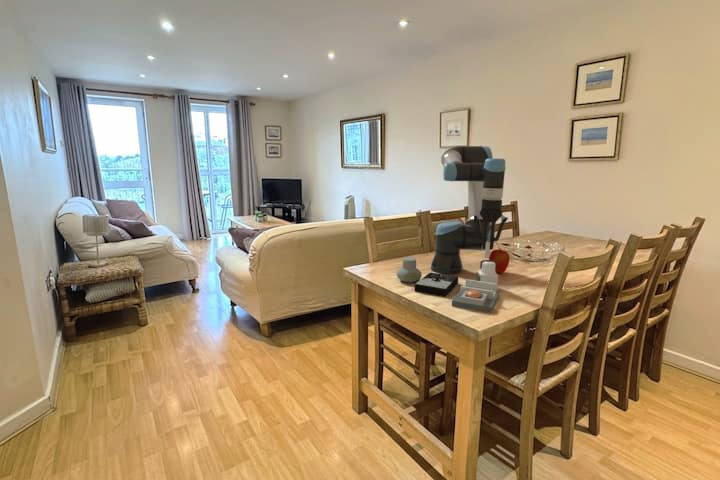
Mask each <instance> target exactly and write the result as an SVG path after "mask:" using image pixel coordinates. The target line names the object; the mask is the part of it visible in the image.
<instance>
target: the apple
mask: <svg viewBox="0 0 720 480" xmlns="http://www.w3.org/2000/svg"><path fill="white" fill-rule="evenodd" d="M488 260H491V261H494V262H495V263H496V270H495V272H496V274H503V273H504V272H506V271H507V268H508V266H509V263H510V260H511V257H510V253H508V252H507V250H503V249H500V248H499V249H492V250H491V251H490V257H489V258H488Z"/></svg>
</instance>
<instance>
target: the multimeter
mask: <svg viewBox="0 0 720 480" xmlns="http://www.w3.org/2000/svg"><path fill="white" fill-rule="evenodd" d="M458 285H459V277H458V276H456V275H452V274H444V273H438V272H428V273H427V274H426V275H425V276H423V277H422V278H420V279H419V280H418V281H416V282H415V284H414V293H420V294H427V295H432V296H438V297H442V298H447V296H448V295H449V294H450V293H451V292H452V291H453V290H454V289H455V288H456V287H457V286H458Z"/></svg>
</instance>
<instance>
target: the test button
mask: <svg viewBox="0 0 720 480" xmlns="http://www.w3.org/2000/svg"><path fill="white" fill-rule="evenodd" d="M467 297H471V298H477V299H481V292H479V291H475V290H469V291H467Z"/></svg>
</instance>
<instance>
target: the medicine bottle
mask: <svg viewBox="0 0 720 480" xmlns="http://www.w3.org/2000/svg"><path fill="white" fill-rule="evenodd" d="M495 270H496V263H495V262H494V261H491V260H489V259H483V260H481V261H480V266H479V269H478V270H477V271H476V281H483V282H490V283H497V284H498V282H499V281H498V279H499V275H498V273H496V272H495Z"/></svg>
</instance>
